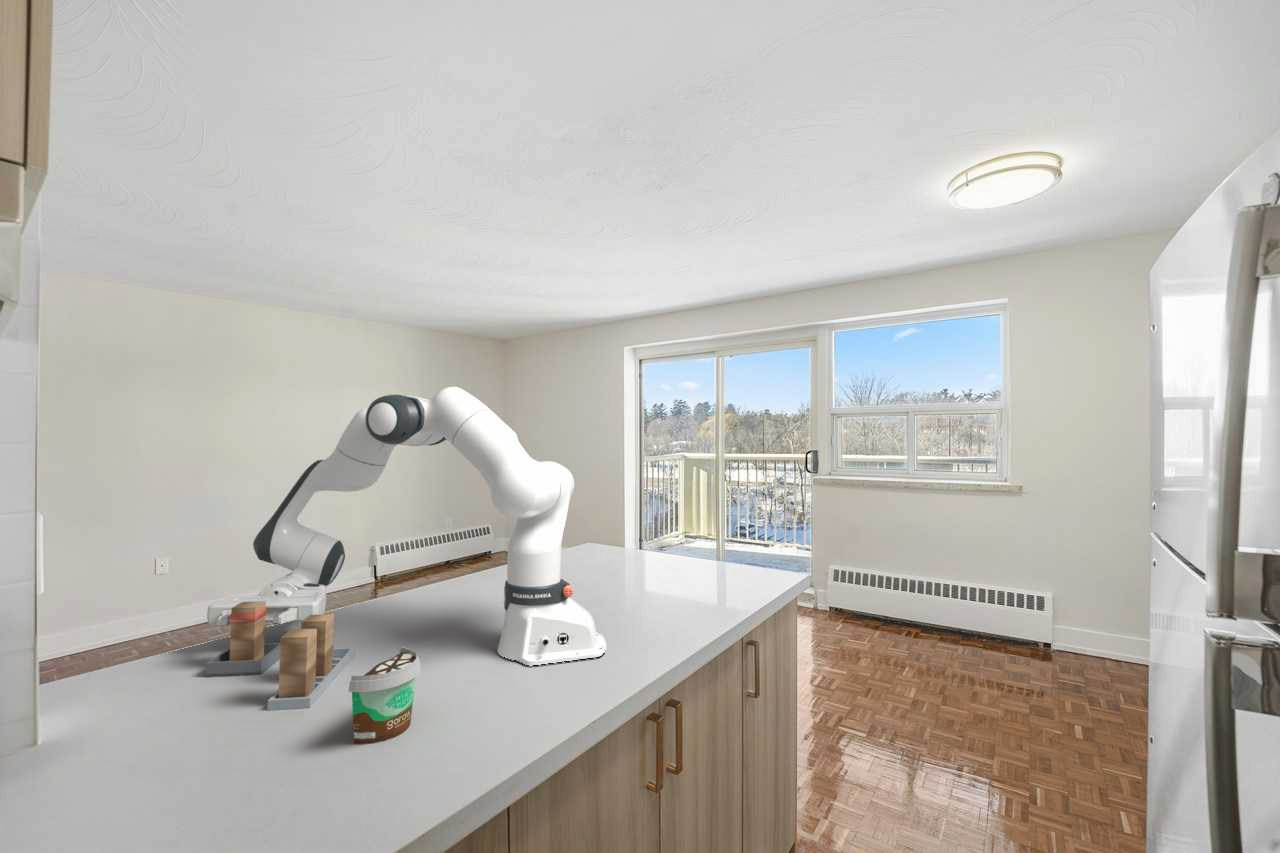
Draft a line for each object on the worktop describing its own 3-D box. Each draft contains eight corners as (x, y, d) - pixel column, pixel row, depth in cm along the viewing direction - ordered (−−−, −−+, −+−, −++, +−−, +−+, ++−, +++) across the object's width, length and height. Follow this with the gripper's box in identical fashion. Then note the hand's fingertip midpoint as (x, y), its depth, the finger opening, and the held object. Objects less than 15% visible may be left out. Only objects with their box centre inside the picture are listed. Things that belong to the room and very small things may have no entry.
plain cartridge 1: (314, 694, 95) (317, 628, 95) (305, 705, 91) (307, 636, 91) (289, 695, 94) (291, 629, 95) (278, 706, 90) (280, 637, 91)
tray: (283, 655, 111) (283, 642, 111) (261, 674, 102) (261, 660, 102) (232, 657, 110) (233, 644, 110) (205, 677, 101) (206, 663, 101)
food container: (385, 754, 77) (387, 681, 78) (346, 749, 79) (348, 676, 79) (435, 712, 90) (437, 649, 90) (400, 708, 91) (402, 645, 91)
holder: (354, 655, 112) (354, 647, 112) (309, 707, 90) (310, 698, 90) (321, 656, 111) (321, 648, 111) (267, 710, 89) (267, 700, 89)
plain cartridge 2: (332, 674, 103) (334, 614, 103) (323, 683, 99) (325, 621, 99) (308, 675, 102) (310, 614, 103) (299, 685, 98) (301, 621, 99)
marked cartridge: (264, 658, 108) (266, 601, 109) (253, 667, 104) (255, 607, 105) (240, 659, 108) (242, 601, 108) (228, 668, 104) (230, 608, 104)
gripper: (229, 587, 119) (188, 606, 105) (333, 584, 122) (307, 603, 109) (227, 617, 119) (187, 640, 105) (332, 613, 122) (306, 636, 109)
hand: (249, 621), depth 107 cm, fingers open, 8 cm apart
